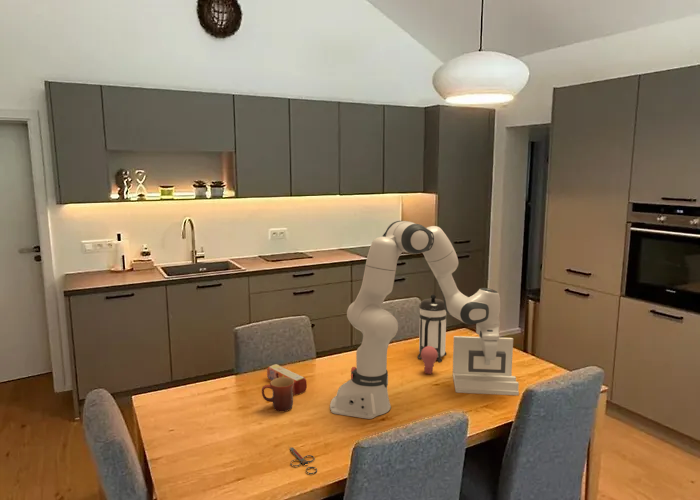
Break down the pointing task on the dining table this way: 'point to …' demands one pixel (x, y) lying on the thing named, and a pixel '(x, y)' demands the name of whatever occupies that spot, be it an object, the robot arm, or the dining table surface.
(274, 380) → the mug
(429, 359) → the light bulb
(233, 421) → the dining table surface
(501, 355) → the picture frame
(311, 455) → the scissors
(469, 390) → the picture ledge
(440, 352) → the coffee press
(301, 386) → the snack package
